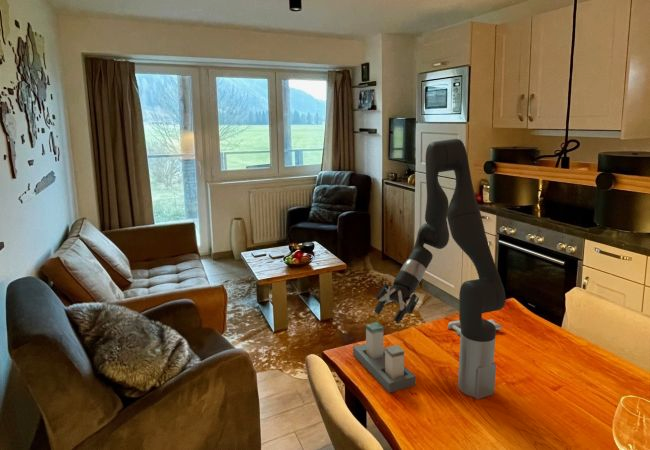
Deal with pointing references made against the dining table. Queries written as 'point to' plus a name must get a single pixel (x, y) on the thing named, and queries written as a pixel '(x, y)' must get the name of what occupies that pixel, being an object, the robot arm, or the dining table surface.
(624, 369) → the dining table surface
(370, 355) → the plug
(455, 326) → the gun
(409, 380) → the two-hole peg board
